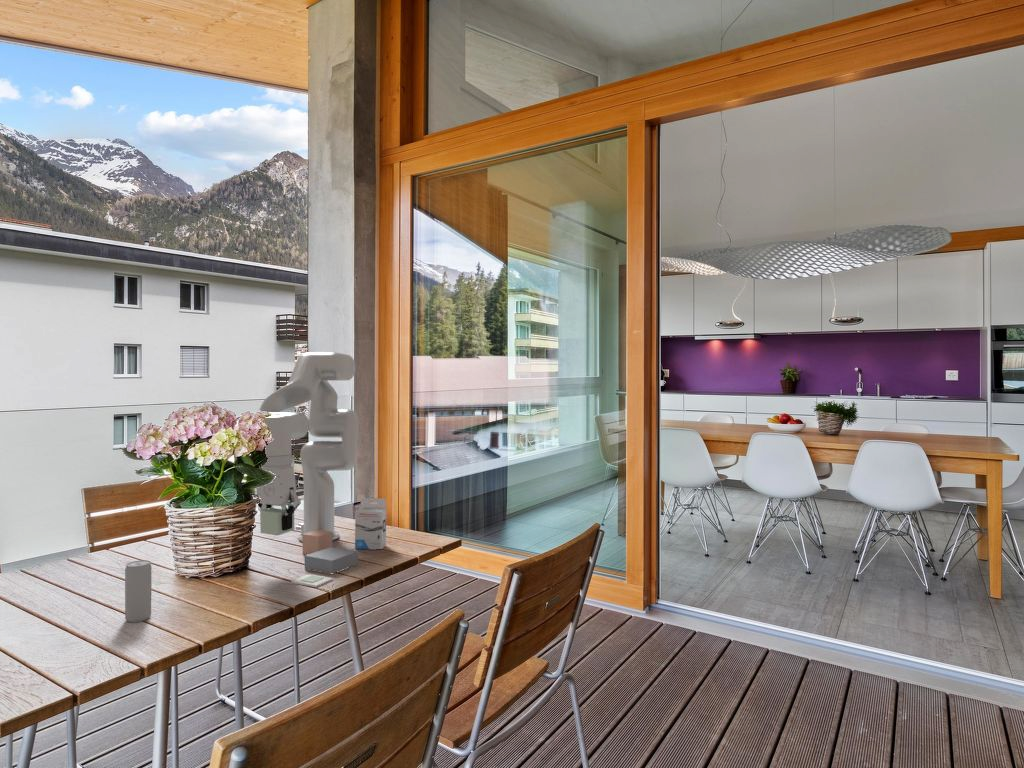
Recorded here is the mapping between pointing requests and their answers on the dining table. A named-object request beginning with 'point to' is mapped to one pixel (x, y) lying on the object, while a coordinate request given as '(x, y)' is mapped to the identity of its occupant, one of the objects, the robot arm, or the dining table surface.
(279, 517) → the sage cube
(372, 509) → the ink box
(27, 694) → the dining table surface
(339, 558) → the slate base block
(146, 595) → the beverage can
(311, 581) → the card
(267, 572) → the dining table surface
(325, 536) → the brick cube
